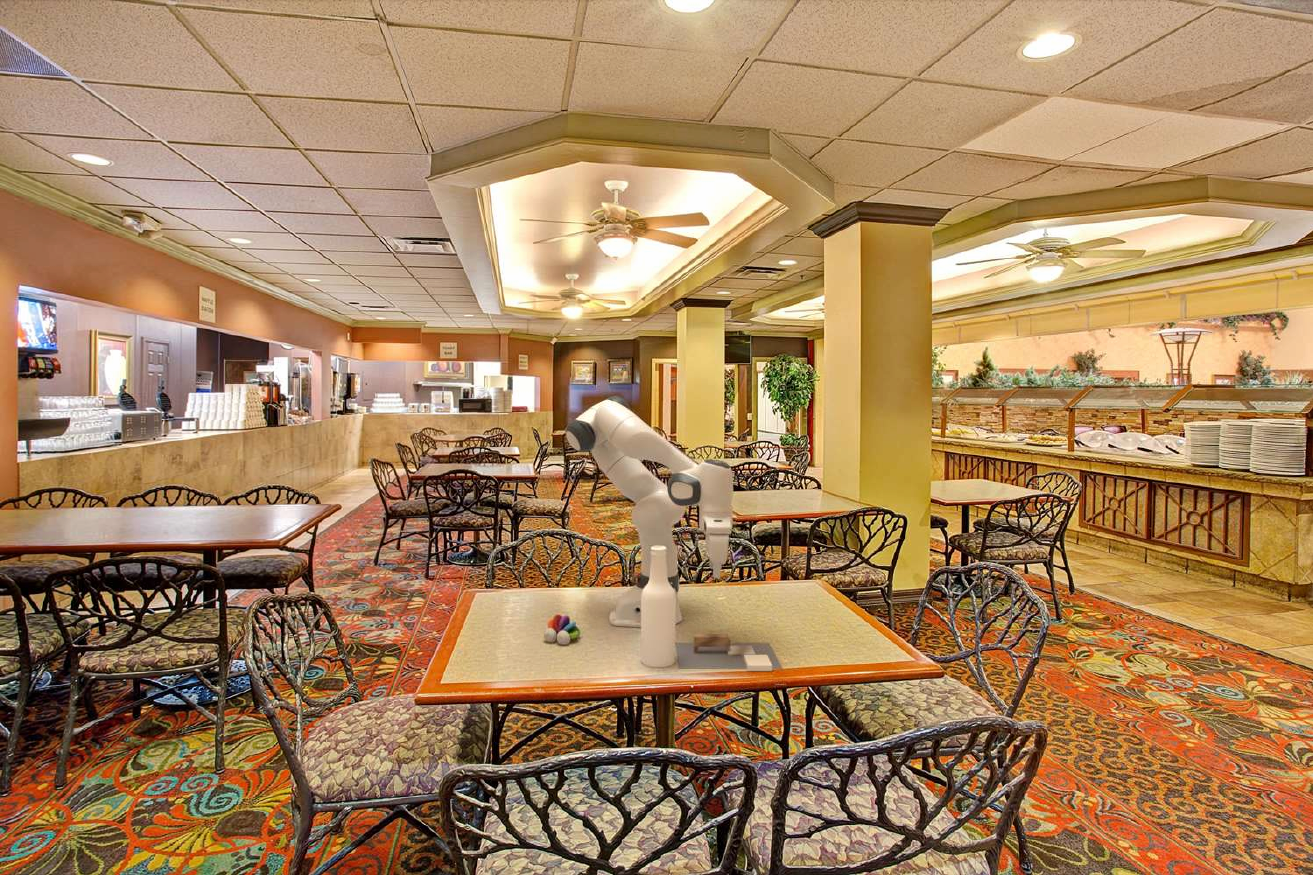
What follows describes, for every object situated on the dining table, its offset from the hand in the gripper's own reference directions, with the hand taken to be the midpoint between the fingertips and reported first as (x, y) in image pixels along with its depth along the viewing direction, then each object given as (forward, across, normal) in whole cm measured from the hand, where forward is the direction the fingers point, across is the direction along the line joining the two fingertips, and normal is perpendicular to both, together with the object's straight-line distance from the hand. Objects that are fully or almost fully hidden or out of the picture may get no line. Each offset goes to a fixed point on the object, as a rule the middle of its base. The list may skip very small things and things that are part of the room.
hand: (714, 572), depth 175 cm
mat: (+22, +4, +3) cm, 22 cm away
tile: (+20, +7, +10) cm, 24 cm away
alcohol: (+22, +8, -15) cm, 28 cm away
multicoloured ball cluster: (+22, -9, -42) cm, 48 cm away
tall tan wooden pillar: (+21, +2, +3) cm, 21 cm away
